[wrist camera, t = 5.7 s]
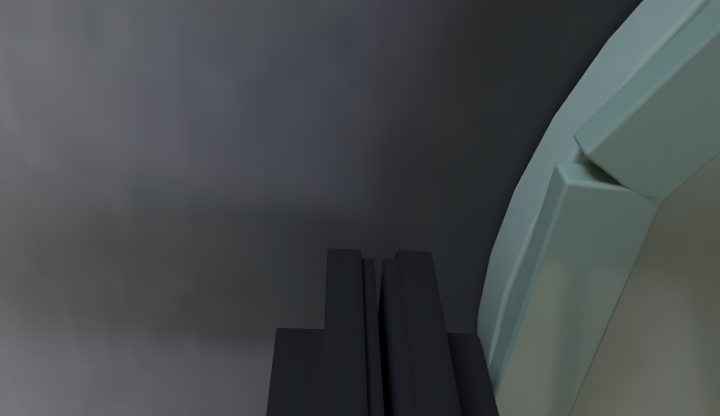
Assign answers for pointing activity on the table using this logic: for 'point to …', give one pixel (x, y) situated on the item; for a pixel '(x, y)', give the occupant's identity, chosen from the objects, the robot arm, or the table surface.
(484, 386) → the robot arm
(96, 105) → the table surface
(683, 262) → the plate
